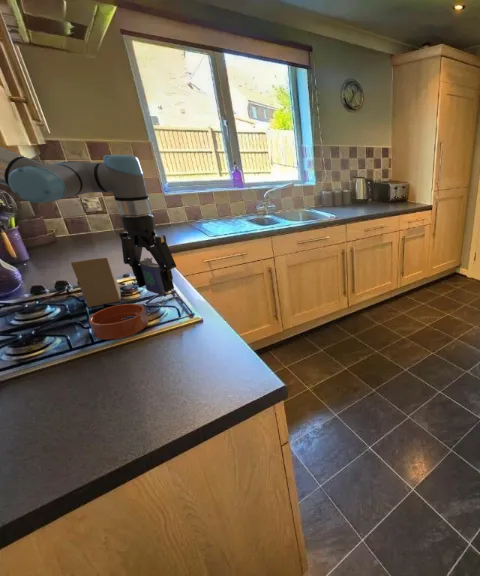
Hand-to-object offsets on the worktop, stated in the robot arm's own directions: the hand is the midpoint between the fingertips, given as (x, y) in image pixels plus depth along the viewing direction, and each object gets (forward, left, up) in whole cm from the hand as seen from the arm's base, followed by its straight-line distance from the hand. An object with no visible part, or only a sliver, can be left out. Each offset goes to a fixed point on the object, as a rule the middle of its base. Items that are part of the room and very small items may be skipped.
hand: (156, 287), depth 101 cm
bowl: (0, -13, -7) cm, 15 cm away
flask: (0, 0, -1) cm, 1 cm away
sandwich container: (-25, +2, -7) cm, 26 cm away
